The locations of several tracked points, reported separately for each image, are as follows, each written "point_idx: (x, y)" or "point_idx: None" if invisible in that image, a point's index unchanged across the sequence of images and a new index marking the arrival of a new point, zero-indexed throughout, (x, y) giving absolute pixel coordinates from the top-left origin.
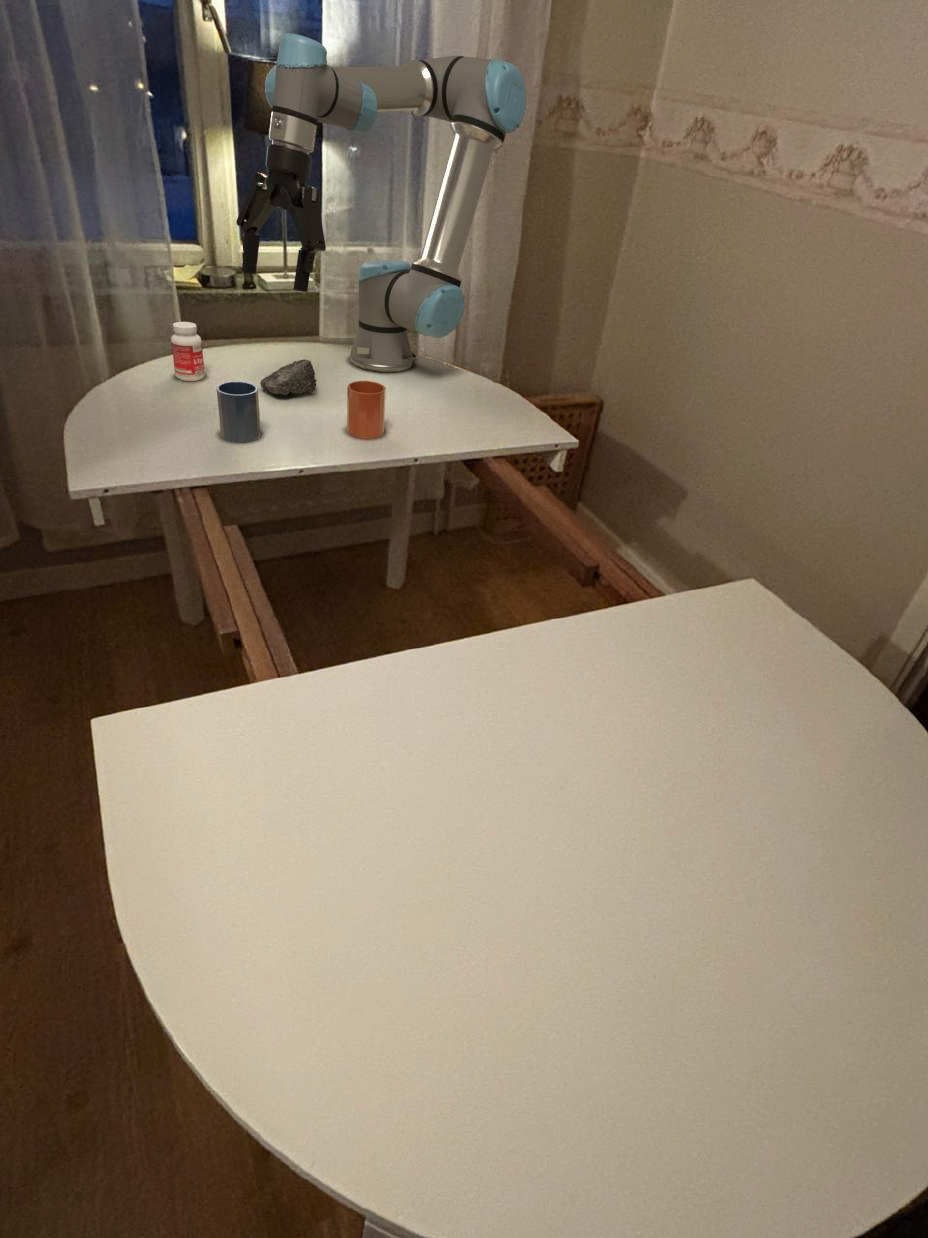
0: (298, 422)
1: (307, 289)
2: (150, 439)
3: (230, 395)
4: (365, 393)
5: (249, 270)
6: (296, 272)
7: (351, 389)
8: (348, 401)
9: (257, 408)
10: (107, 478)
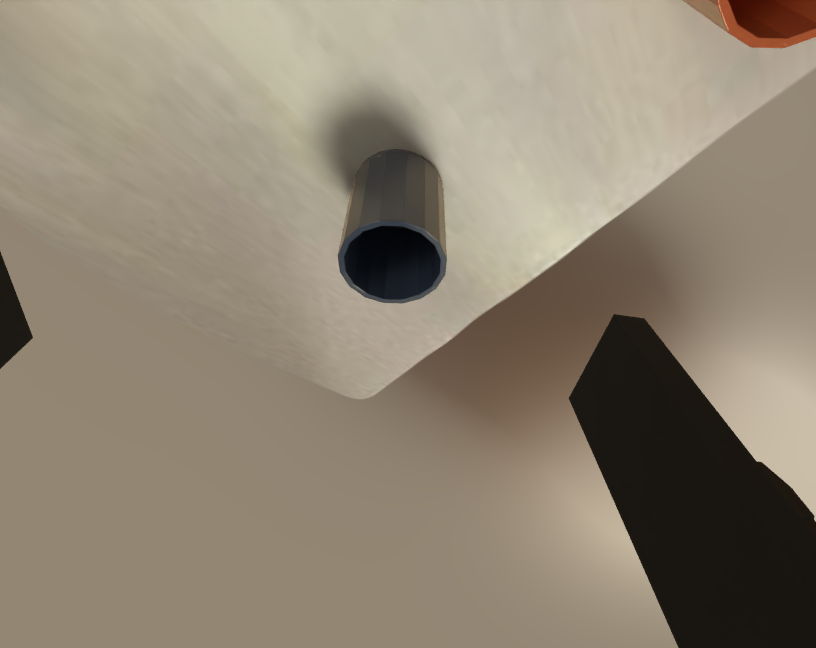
0: (468, 17)
1: (652, 332)
2: (292, 293)
3: (411, 299)
4: (814, 34)
5: (3, 307)
6: (620, 494)
7: (741, 34)
8: (702, 11)
9: (443, 224)
10: (363, 382)
